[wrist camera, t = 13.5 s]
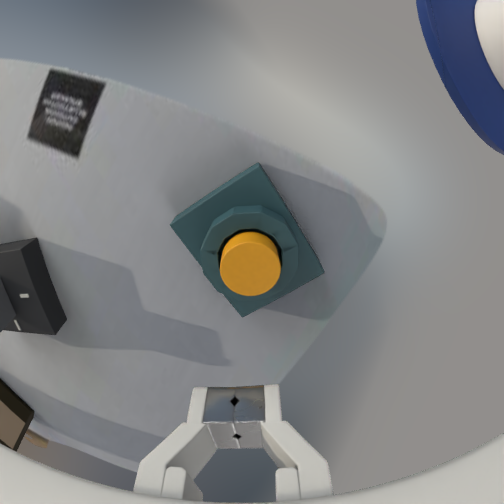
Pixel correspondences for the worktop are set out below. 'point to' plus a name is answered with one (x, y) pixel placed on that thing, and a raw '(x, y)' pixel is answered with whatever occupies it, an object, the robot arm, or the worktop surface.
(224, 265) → the trigger button
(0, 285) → the grey rectangular block
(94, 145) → the worktop surface
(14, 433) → the bottle
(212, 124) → the worktop surface
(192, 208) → the teal button mount
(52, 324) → the dark grey flat block
